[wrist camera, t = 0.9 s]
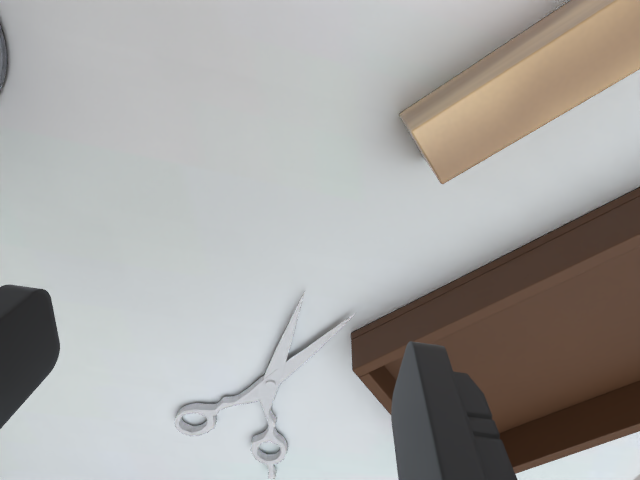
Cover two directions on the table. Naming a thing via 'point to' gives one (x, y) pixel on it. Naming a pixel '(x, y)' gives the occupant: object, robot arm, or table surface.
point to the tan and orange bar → (526, 83)
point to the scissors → (261, 395)
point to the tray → (535, 336)
